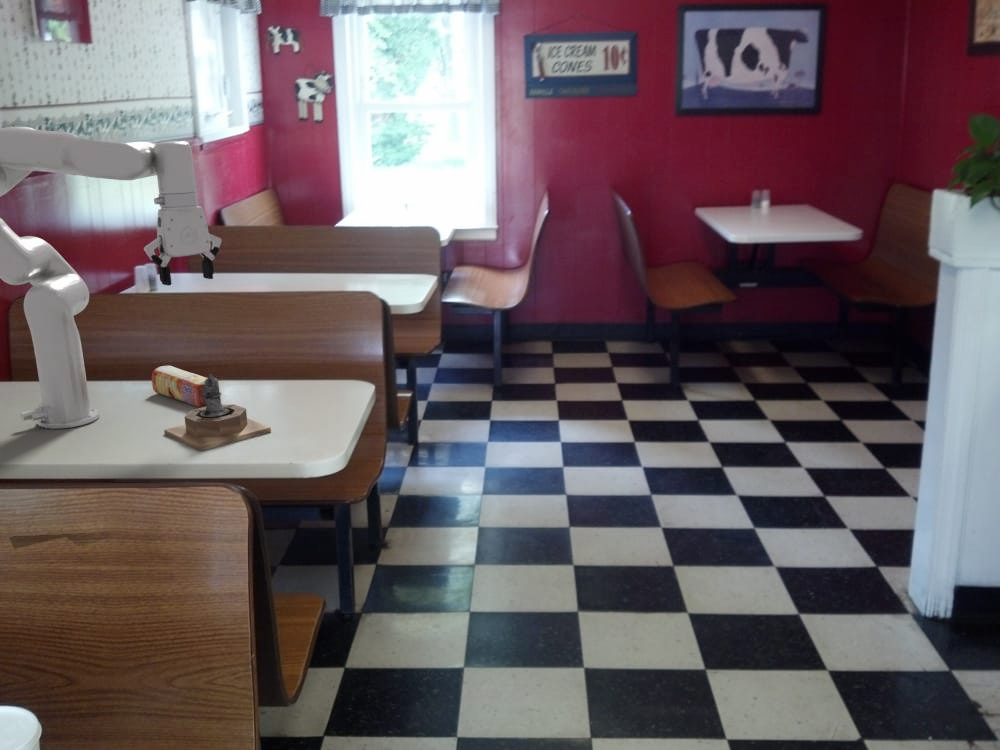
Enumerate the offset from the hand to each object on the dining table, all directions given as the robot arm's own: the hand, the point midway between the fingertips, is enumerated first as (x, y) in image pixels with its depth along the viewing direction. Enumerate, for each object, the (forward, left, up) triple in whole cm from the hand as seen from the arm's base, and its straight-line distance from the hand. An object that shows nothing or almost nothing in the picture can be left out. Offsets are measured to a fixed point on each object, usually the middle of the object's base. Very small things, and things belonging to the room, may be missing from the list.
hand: (187, 281), depth 219 cm
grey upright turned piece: (-4, -14, -30) cm, 33 cm away
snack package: (+4, +16, -31) cm, 35 cm away
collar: (-4, -14, -30) cm, 34 cm away
